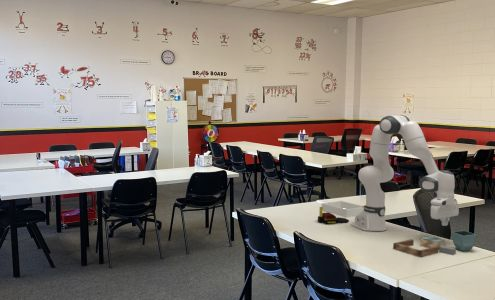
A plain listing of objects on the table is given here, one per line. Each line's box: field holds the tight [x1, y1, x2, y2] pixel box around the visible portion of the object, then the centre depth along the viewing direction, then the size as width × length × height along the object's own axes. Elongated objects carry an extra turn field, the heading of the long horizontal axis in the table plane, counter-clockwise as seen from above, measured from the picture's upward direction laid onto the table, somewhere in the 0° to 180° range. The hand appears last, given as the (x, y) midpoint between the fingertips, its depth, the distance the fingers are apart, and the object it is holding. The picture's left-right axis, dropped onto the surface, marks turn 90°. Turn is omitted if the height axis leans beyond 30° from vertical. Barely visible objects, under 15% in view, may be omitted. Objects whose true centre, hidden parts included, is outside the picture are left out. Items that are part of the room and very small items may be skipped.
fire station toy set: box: [317, 206, 350, 225], centre depth 311 cm, size 14×20×11 cm
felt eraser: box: [438, 245, 457, 256], centre depth 249 cm, size 7×4×3 cm, turn 47°
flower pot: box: [451, 230, 477, 252], centre depth 254 cm, size 9×9×9 cm
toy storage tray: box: [321, 200, 365, 219], centre depth 338 cm, size 25×19×6 cm
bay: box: [392, 239, 439, 258], centre depth 252 cm, size 17×14×3 cm
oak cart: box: [419, 235, 447, 249], centre depth 260 cm, size 10×8×5 cm
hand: (444, 225), depth 263 cm, fingers closed
